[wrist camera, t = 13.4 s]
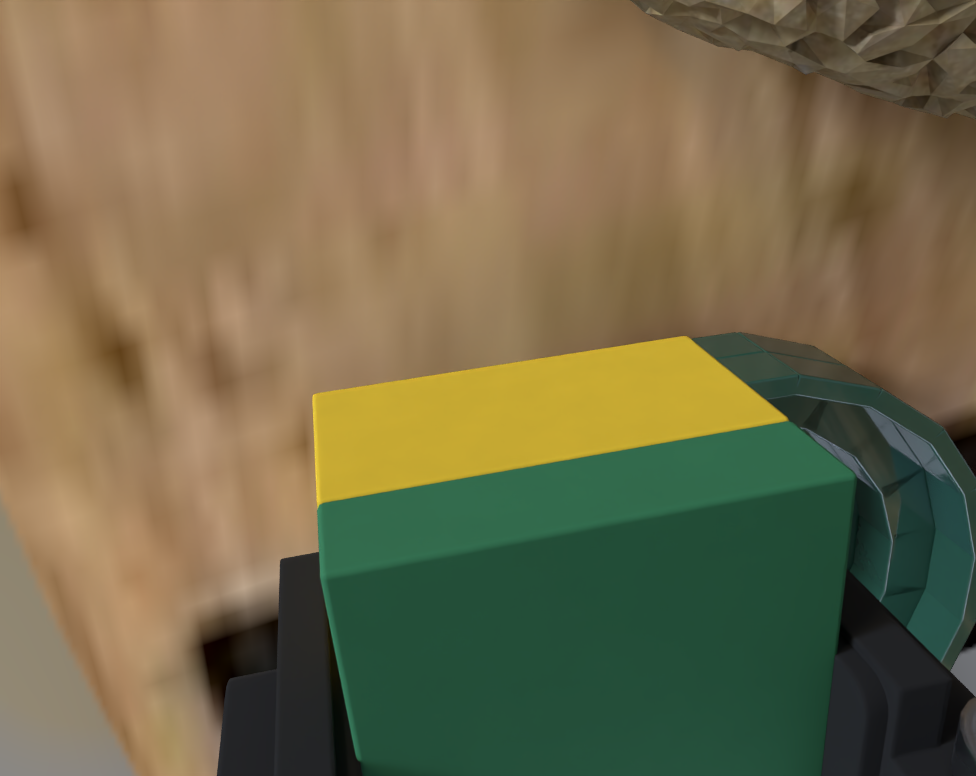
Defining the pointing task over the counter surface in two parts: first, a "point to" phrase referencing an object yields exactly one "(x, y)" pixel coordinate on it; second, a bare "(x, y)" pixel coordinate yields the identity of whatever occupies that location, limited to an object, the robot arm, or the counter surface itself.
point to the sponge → (850, 43)
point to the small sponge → (581, 569)
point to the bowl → (880, 483)
